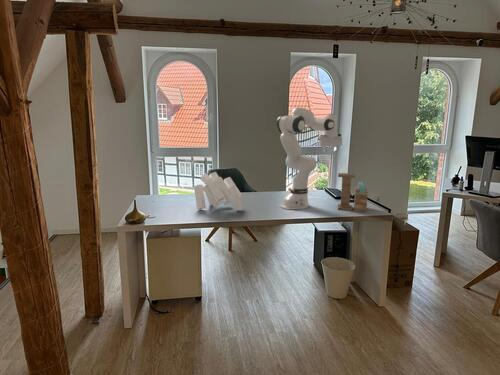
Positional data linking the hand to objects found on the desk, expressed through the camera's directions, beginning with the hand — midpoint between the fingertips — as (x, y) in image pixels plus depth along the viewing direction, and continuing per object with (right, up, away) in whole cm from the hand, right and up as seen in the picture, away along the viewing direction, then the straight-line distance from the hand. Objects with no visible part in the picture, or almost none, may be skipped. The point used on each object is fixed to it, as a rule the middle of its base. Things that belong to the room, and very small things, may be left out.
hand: (329, 151), depth 282 cm
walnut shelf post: (+7, -44, -19) cm, 49 cm away
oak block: (+17, -45, -21) cm, 53 cm away
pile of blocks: (-88, -45, -18) cm, 100 cm away
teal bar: (+17, -30, -25) cm, 43 cm away
